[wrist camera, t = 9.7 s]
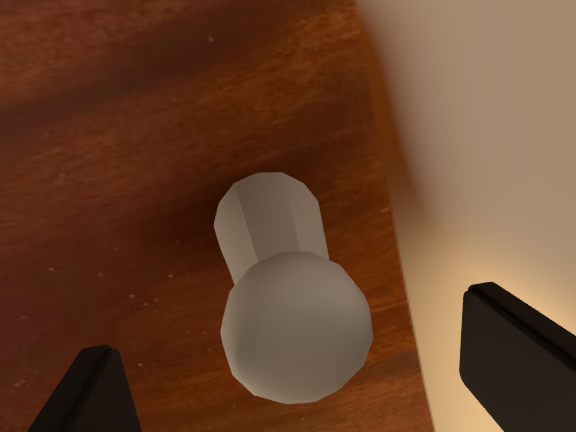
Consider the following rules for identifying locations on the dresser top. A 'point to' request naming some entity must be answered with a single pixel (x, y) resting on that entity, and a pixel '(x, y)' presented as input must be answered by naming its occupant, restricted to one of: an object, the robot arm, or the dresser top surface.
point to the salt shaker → (287, 294)
